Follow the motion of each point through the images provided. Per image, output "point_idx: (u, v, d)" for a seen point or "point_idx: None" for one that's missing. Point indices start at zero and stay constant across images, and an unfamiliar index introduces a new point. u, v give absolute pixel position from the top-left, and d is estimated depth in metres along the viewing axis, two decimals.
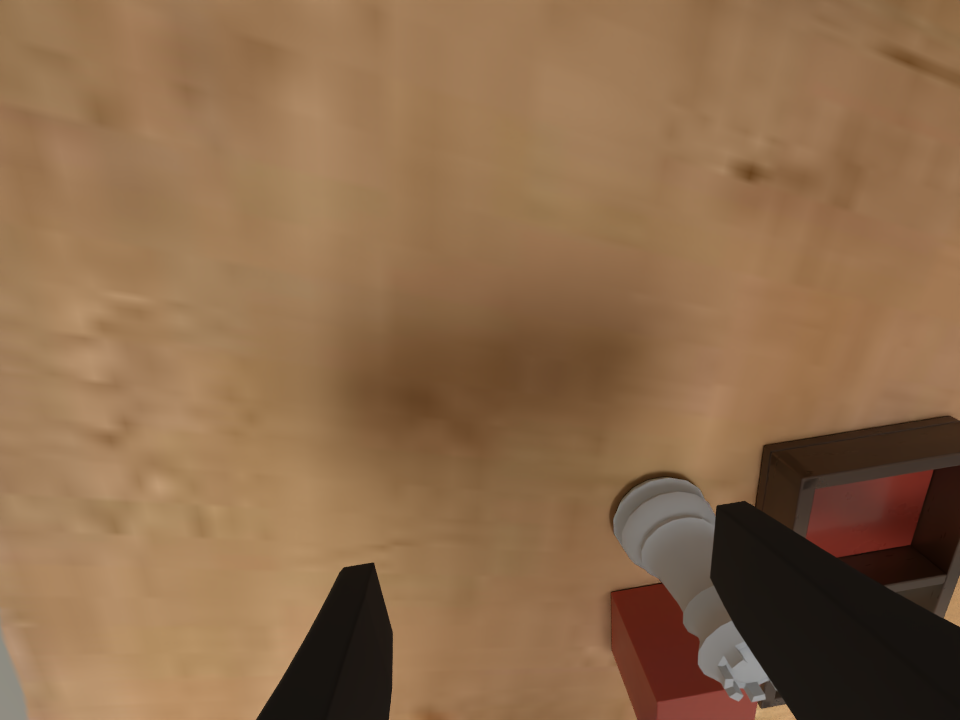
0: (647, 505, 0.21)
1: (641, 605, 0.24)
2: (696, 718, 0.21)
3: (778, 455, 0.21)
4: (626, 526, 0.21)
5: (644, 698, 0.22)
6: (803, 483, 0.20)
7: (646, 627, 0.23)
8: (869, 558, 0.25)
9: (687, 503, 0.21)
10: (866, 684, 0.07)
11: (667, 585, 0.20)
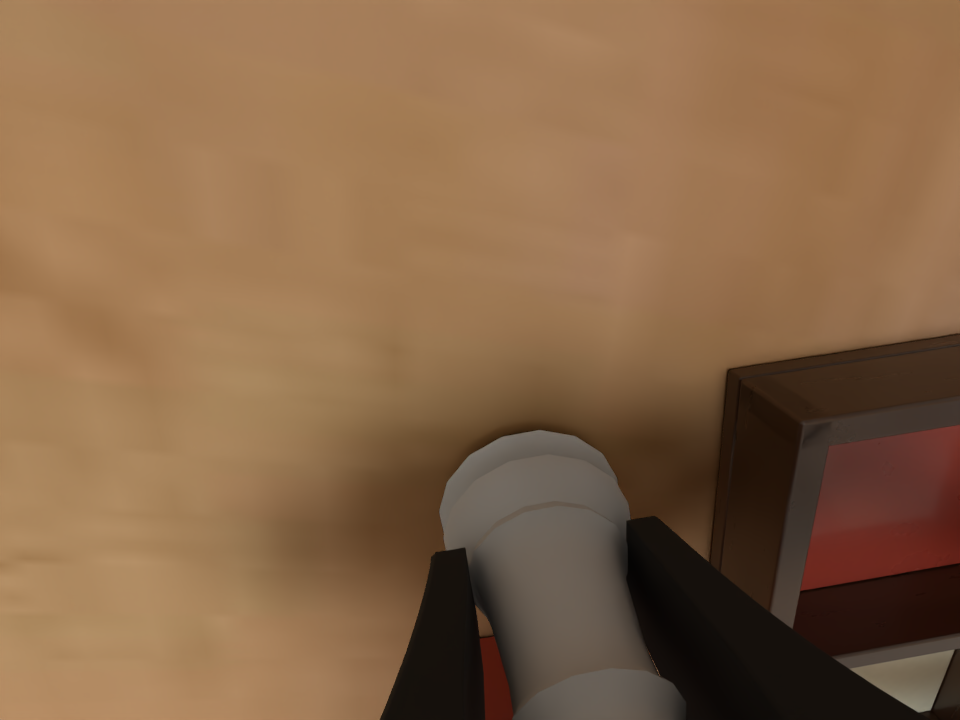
0: (483, 482, 0.10)
1: None
2: None
3: (754, 384, 0.11)
4: (448, 525, 0.11)
5: None
6: (804, 433, 0.09)
7: (511, 713, 0.12)
8: (920, 582, 0.14)
9: (561, 479, 0.10)
10: (736, 708, 0.07)
11: (500, 656, 0.09)
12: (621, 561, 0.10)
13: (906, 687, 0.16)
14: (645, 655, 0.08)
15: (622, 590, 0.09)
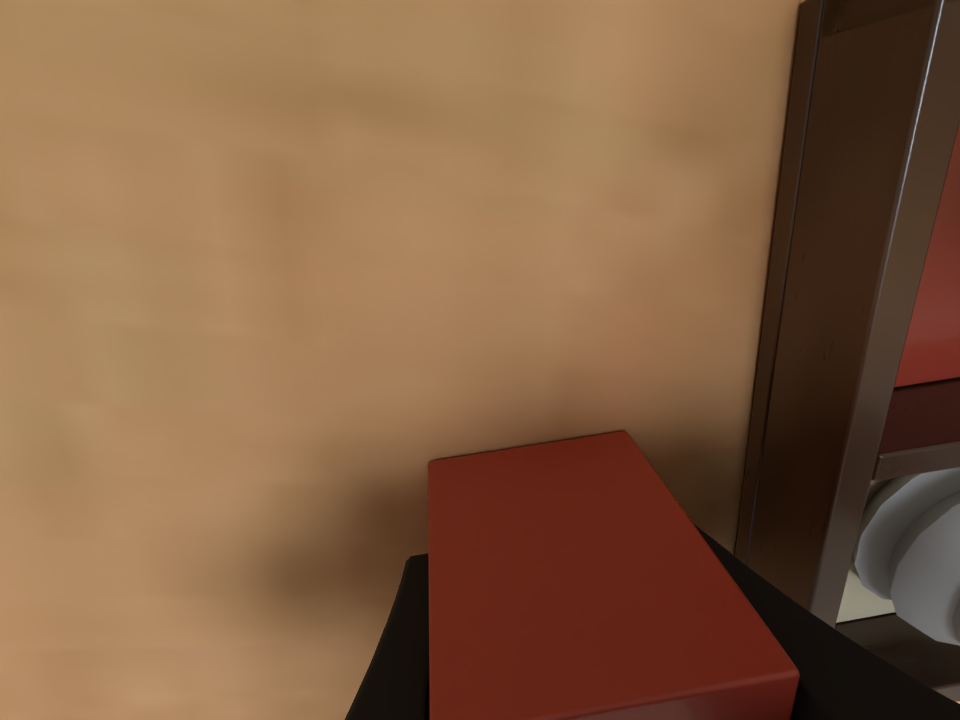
0: None
1: (487, 482, 0.10)
2: None
3: None
4: (912, 552, 0.10)
5: None
6: None
7: (482, 524, 0.09)
8: None
9: None
10: None
11: None
12: None
13: None
14: None
15: None
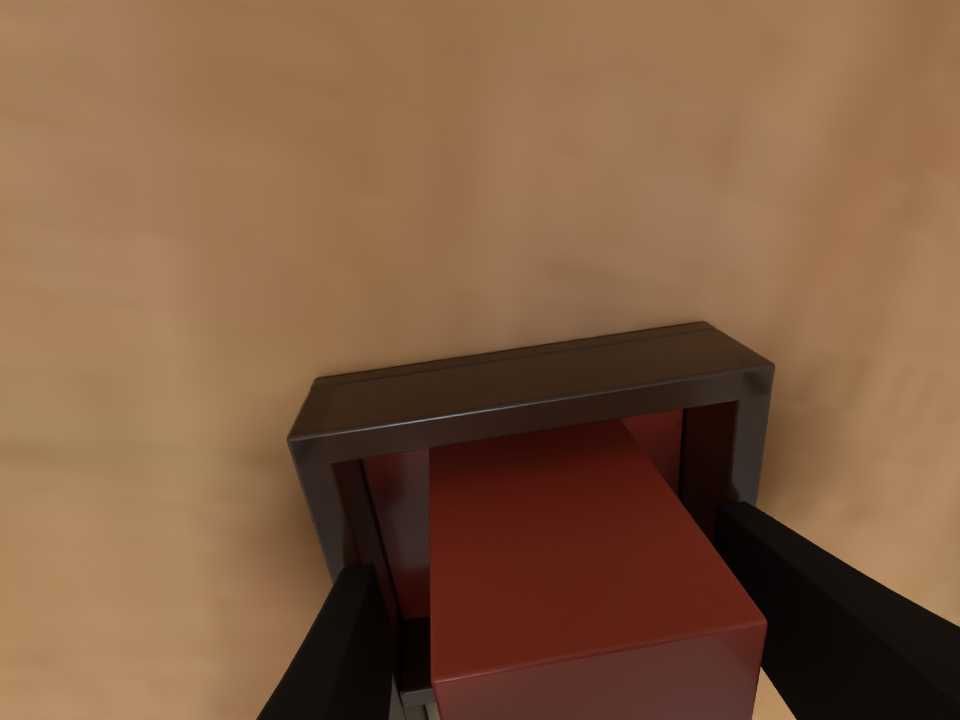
0: None
1: (484, 460, 0.10)
2: None
3: (310, 394, 0.10)
4: None
5: None
6: (295, 449, 0.09)
7: (480, 499, 0.09)
8: None
9: None
10: (866, 684, 0.07)
11: None
12: None
13: None
14: None
15: None
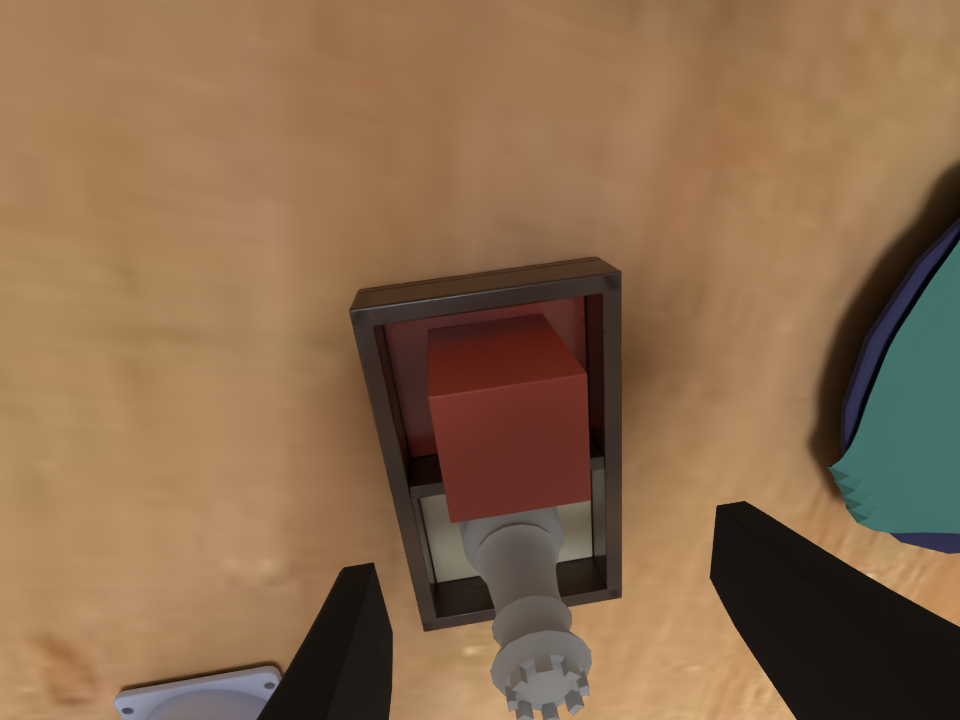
0: None
1: (460, 334, 0.17)
2: (496, 435, 0.14)
3: (358, 295, 0.17)
4: (465, 533, 0.20)
5: None
6: (353, 317, 0.16)
7: (456, 347, 0.16)
8: None
9: None
10: (866, 684, 0.07)
11: (491, 597, 0.18)
12: (552, 552, 0.19)
13: (564, 535, 0.23)
14: (555, 592, 0.17)
15: (549, 565, 0.18)
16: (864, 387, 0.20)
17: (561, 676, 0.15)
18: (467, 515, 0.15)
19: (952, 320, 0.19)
